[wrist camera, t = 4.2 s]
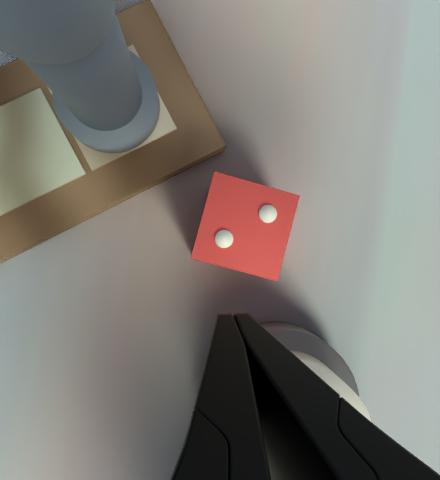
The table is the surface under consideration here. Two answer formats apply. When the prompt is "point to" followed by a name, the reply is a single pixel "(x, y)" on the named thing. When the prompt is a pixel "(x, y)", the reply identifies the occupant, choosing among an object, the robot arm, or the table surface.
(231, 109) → the table surface
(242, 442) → the robot arm
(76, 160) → the game board
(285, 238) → the red die
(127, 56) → the pawn
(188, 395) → the table surface
